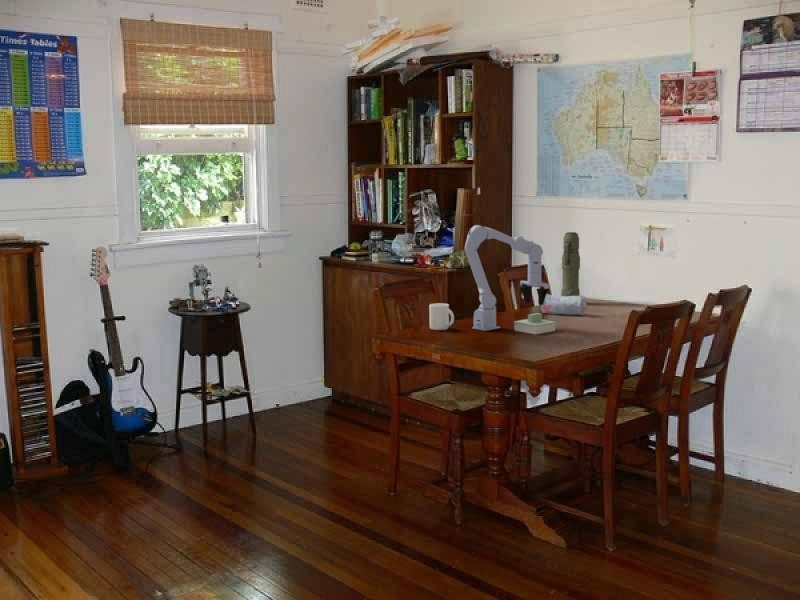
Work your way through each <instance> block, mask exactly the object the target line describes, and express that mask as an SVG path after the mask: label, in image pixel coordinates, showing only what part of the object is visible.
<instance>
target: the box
mask: <svg viewBox="0 0 800 600" xmlns="http://www.w3.org/2000/svg"><path fill="white" fill-rule="evenodd" d="M513 324H514V330H513V331H515V332H520V333H525V334H532V335H540V334H545V333H550V332H551V333H552V332H555V331H556V324H551V325H546V326H540V327H531V326H526V325H520V324H515V323H514V322H513Z"/></svg>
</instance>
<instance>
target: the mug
mask: <svg viewBox="0 0 800 600" xmlns="http://www.w3.org/2000/svg"><path fill="white" fill-rule="evenodd" d="M449 307H450V304H448V303H443V302H442V303H441V302H440V303H439V302H438V303H430V304H429V309H428V310H429V312H428V313H429V329H430V330H434V331H446V330H448V329H449V327H450V326H452V325H453V324H454V321H455V314H454V312H453V311H452V310H451V309H450V308H449Z"/></svg>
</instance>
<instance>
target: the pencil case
mask: <svg viewBox="0 0 800 600" xmlns="http://www.w3.org/2000/svg"><path fill="white" fill-rule="evenodd" d="M587 306H588V305H587V299H586V296H584V295H580V296H561V295H553V294H549V293H547V294H546V296H545V299H544V303H543V305H539V308H540V311H541V313H542V314H546V313H547V315H549V314H550V315H558V314H564V316H566V315H567V316H584V315H585V313H586V310H587Z"/></svg>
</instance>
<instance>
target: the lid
mask: <svg viewBox="0 0 800 600" xmlns="http://www.w3.org/2000/svg"><path fill="white" fill-rule="evenodd" d="M514 323H515V324H520V325H526V326H531V327H540V326H546V325H551V324H555V325H556V324H557V322H556V321H553V320H548V319H543V313H542V312H541V313H540V312H535V313H529V314H527V318H526V319H520V320H515V321H513V324H514Z"/></svg>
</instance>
